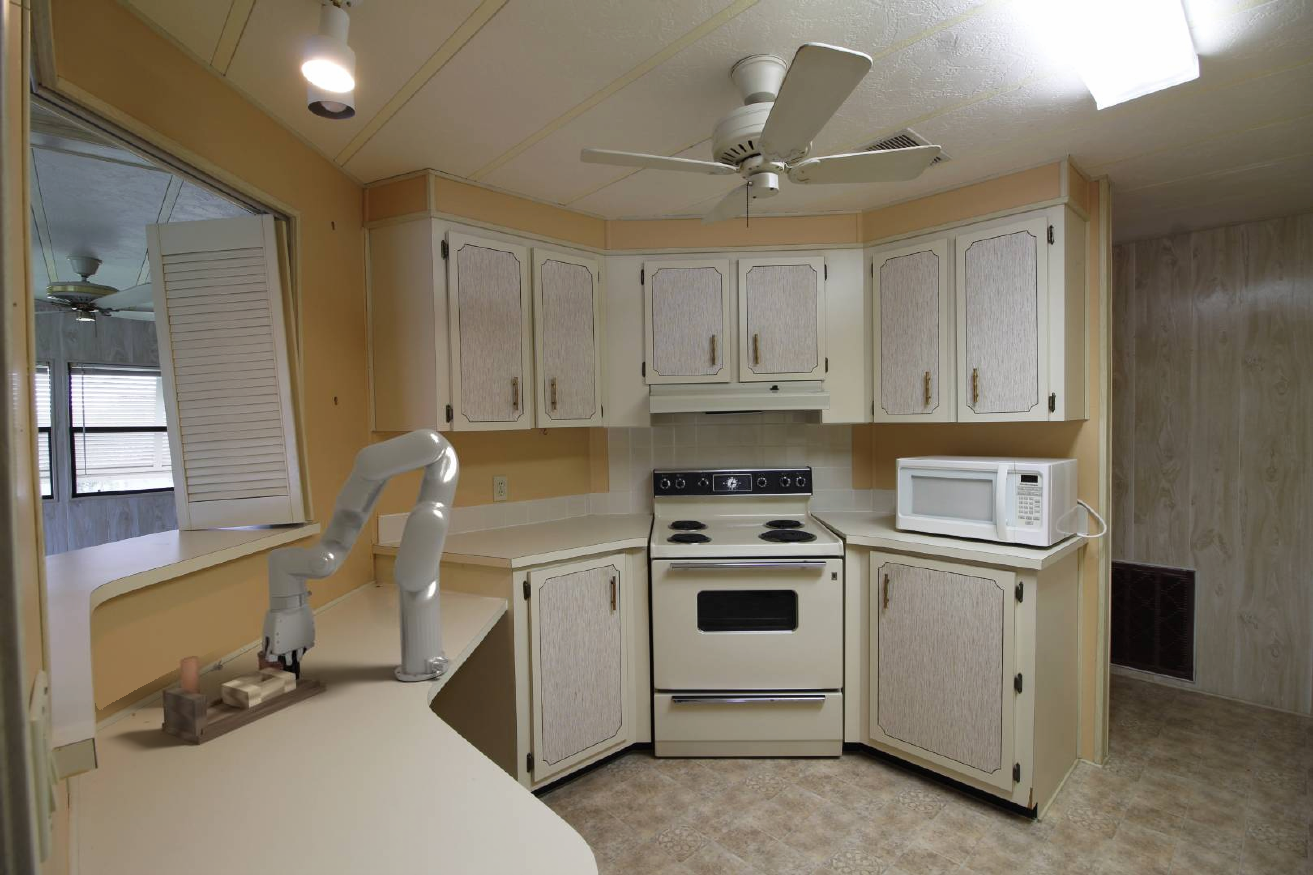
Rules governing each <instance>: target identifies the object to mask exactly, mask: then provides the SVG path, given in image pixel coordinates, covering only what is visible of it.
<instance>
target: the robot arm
mask: <svg viewBox="0 0 1313 875" xmlns="http://www.w3.org/2000/svg"><path fill="white" fill-rule="evenodd" d="M353 461H354V462H353V464H354V465H353V468H352V470H351V472H350V474H349V476H348V477H347V479H346V481H345V483H344V484H343V486H342V488H341V490H340V491H339V493H338V495H337V496H336V499H335V501H334V507H333V508H334V510H333V513H332V517H331V519H330V521H329V523H328V525H327V527H326V528H325V531H324V532H323V534H322V535H321V538H319V541H318V543H317V544H316V545H315V546H314V547H311V548H307V549H304V548H303V547H301V546H284V547H280V548H275V549H273V550H271V551H270V552H268V554H267V576H268V599H269V609H268V610H266V611H265V614H264V618H263V624H262V633H261V634H262V638H261V639H262V641H261V642H262V643H261V648H262V650H263V652H264V653H267V654H266V661H268V662H274V661H278V662H280V663H281V664H283V671H286V672H290V673H294V674H295V677H296V680H298V679H299V677H300V674H301V662H302V661H303V656H304V655H305V653H306V652H307V651H309V650H310V649H312V648H314V647H315V640H316V625H315V619H314V618H315V617H314V613H313V609H312V605H311V603H310V602H308V601H309V597H312V591H311V590H308V584H307V580H323V579H326V578H329V577H331V576H332V575H334V574H335V573H336V572H337V571H338V570H339V568H340V567H342V565H343V564H344V563H345V561H346V560H347V558H348V555H349V554H350V552H351V550H352V549H353V547H354V544H355V543H356V541H357V540H358V538H359V536H360V534H361V532H362V531H363V529H364V526H365V525H366V524H367V522H368V521H369V519H370V518H371V515H372V513H373V512H374V510H375V508H376V506H377V504H378V502H379V500H380V499H381V496H382V495H383V493H384V492H385V490H386V488H387V486H388V484H389V483H390V481H391V479H392V478H394V477H396V476H400V475H403V474H405V473H407V472H408V473H409V472H412V471H414V470H417V469H420V468H423V474H422V476H421V477H422V478H421V481H420V485H419V490H418V494H417V496H416V497H417V498H416V500H415V503H414V507H413V509H412V510H411V512H410V513H409V515H408V516H407V519H406V522H405V525H404V529H403V532H402V536H401V540H400V544H399V546H398V551H397V554H396V558H395V561H394V565H393V570H392V572H393V573H392V575H393V580H394V581H395V583H396V585H397V586H398V619H399V621H398V622H399V639H400V644H399V645H400V662H401V664H400V665H398V667H396V668H395V670H394V676H395V678H396V679H397V680H400V681H402V682H421V681H424V680H426V681H427V680H429V679H432V678H436V677H438V676H439V677H440V675H443V674H445V673H446V672H447V671H448V670H449V669H450V666H451V665H452V664H453V660H452V659H448V658H446V651H443V636H442V635H443V634H442V614H441V589H440V588H441V587H440V584H441V582H440V576H441V574H440V563H441V558H442V555H443V551H444V548H445V544H446V539H447V536H448V533H449V528H450V522H451V519H450V517H451V511H452V508H453V505H454V504H453V503H454V499H455V496H456V491H457V487H458V482H459V476H460V462H459V461H460V460H459V458H458V454H457V451H456V450H455V448H454V447H453V446H452V444H451V442H449V441H448V440H447V438H445V437H444V436H443V435H442V434H441V433H439V431H437V430H435V429H431V428H420V429H415V430H413V431H410V432H408V433H405V434H402V435H398V436H395V437H394V438H390V439H388V440H385V441H381V442H378V443H374V444H371V445H367V446H365V447H363V448H362V449H360V451H358V453H357V454H356V456H355V458H354V460H353ZM262 650H261V651H262Z"/></svg>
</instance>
